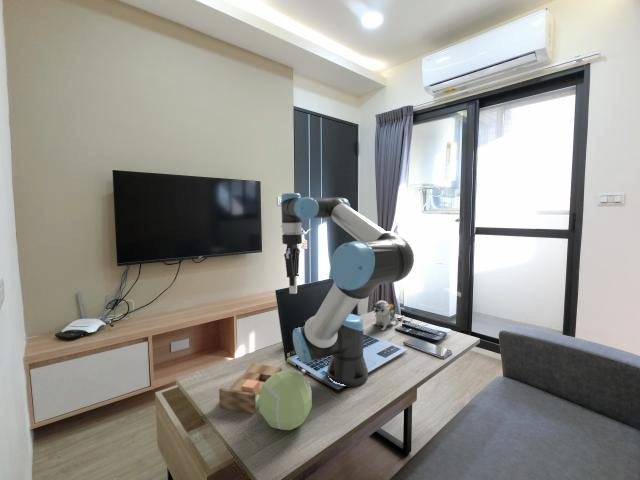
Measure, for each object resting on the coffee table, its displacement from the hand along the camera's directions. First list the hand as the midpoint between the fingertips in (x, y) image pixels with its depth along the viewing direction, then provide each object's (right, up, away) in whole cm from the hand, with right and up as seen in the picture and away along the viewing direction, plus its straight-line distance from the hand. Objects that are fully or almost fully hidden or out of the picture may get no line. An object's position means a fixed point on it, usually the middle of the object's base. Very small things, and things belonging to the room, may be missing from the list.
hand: (293, 293), depth 121 cm
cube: (-12, -29, -23) cm, 39 cm away
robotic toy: (+45, -25, +40) cm, 65 cm away
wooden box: (-12, -31, -14) cm, 36 cm away
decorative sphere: (+1, -33, -31) cm, 45 cm away
